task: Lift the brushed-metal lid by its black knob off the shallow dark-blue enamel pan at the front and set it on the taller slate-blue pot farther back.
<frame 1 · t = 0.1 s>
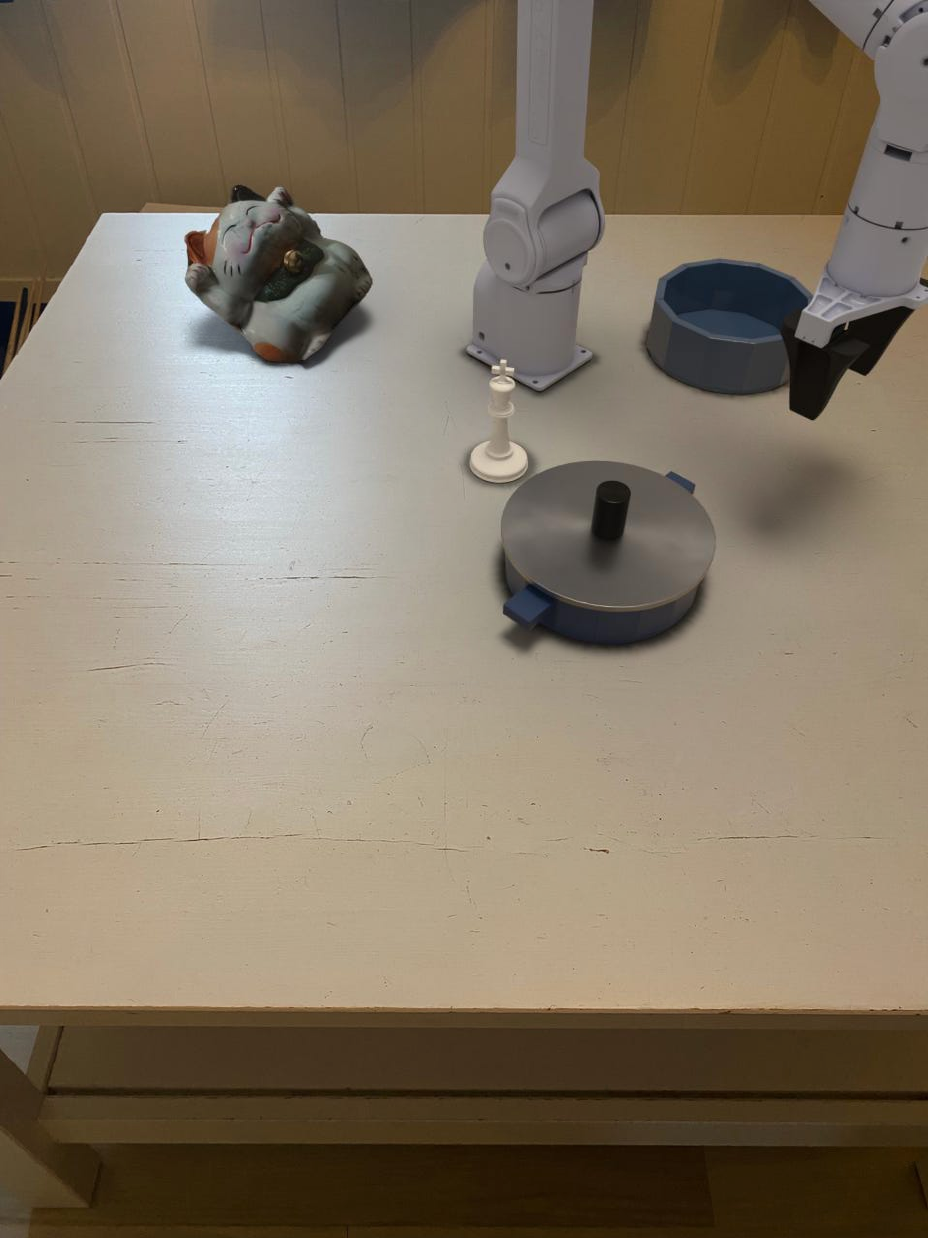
hand: (829, 390, 70), 10 cm above the table, tool pointing down, fingers open, 7 cm apart
pan: (600, 571, 71), on the table
chess piece: (498, 465, 80), on the table
lucky cat figurine: (288, 330, 93), on the table
lid: (606, 533, 68), point 4 cm above the table, touching pan
pot: (723, 349, 91), on the table
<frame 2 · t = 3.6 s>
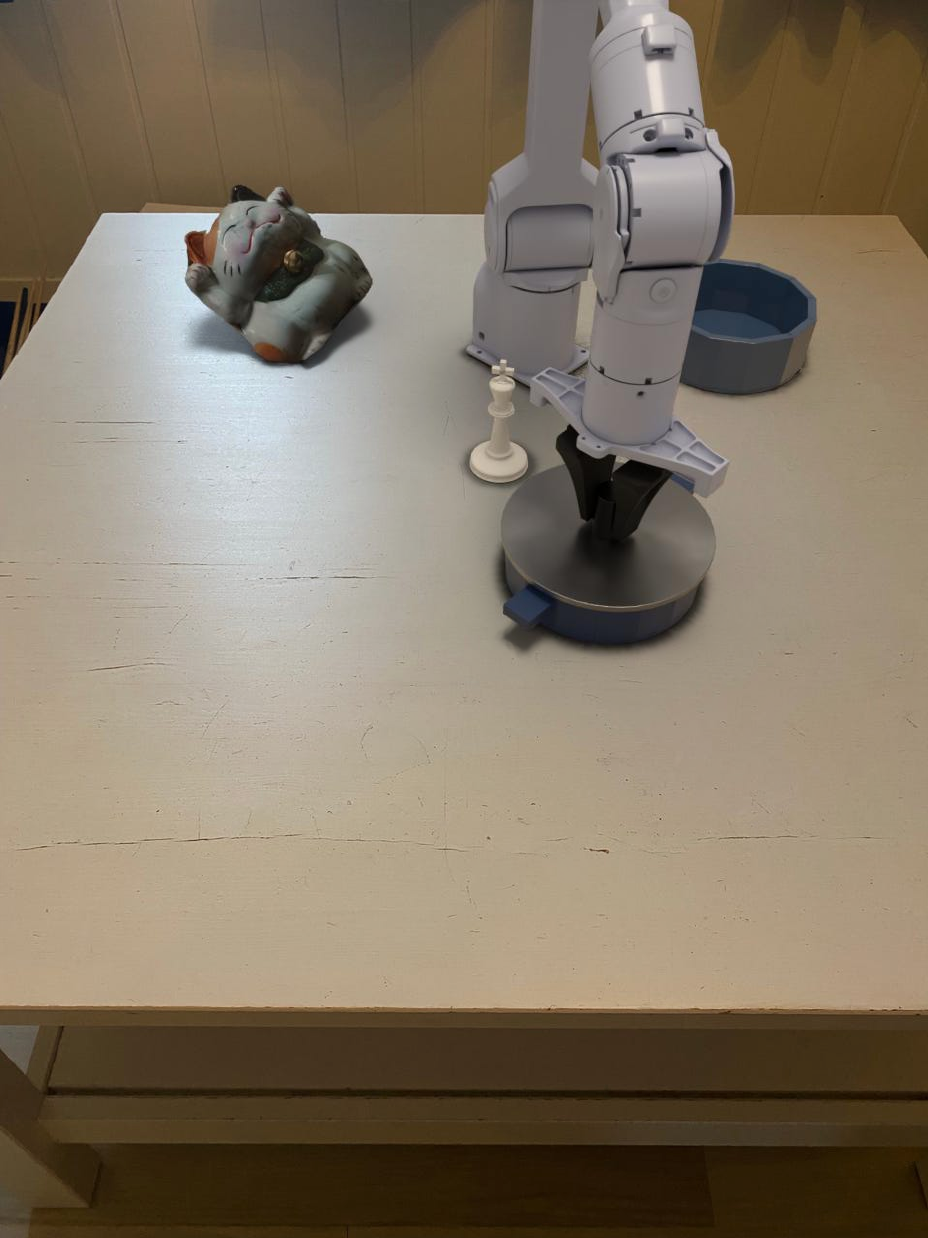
hand: (608, 522, 68), 5 cm above the table, tool pointing down, fingers closed on lid, 2 cm apart
lid: (606, 533, 68), point 4 cm above the table, touching gripper, pan
everything else where it was.
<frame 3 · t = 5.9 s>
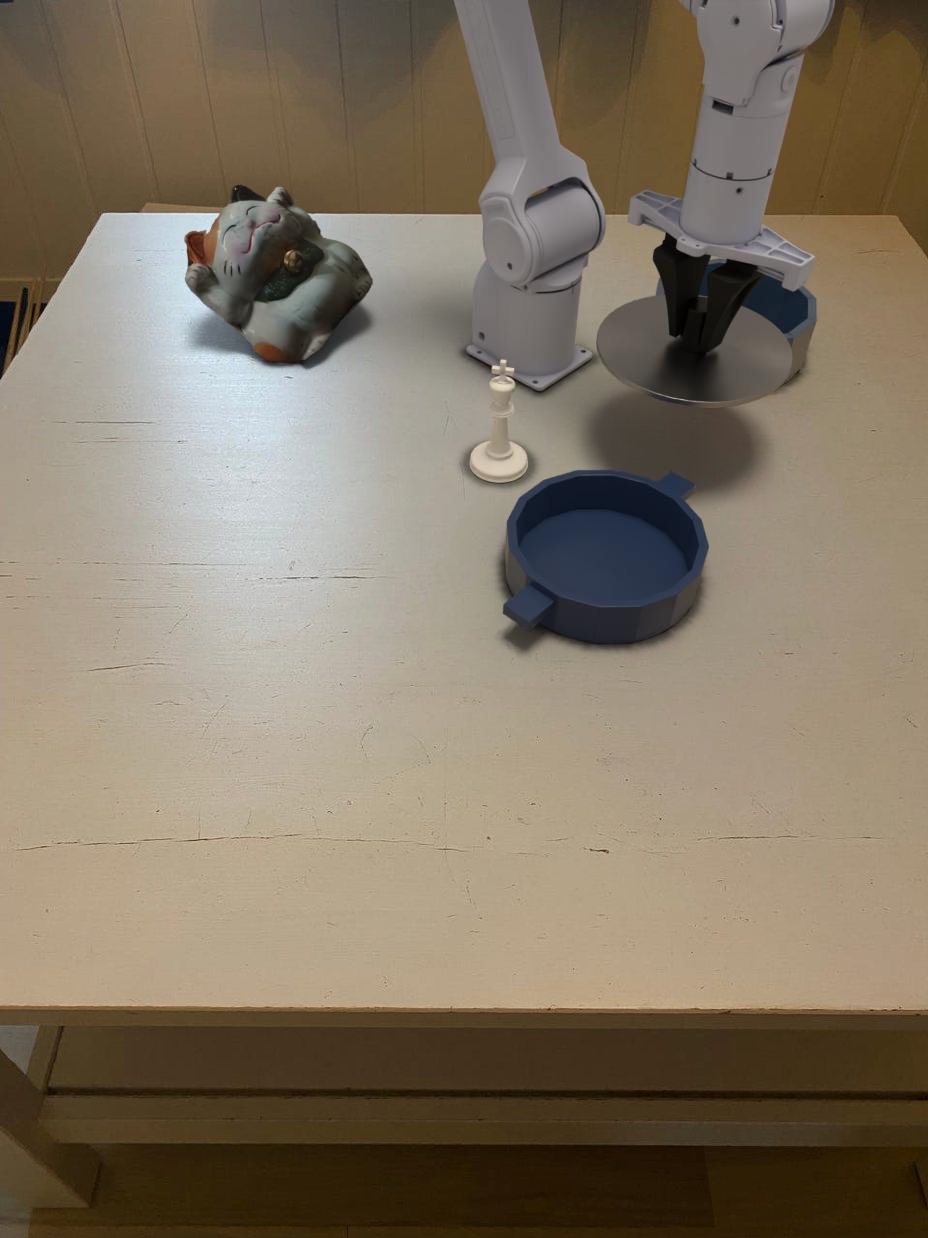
hand: (694, 338, 75), 10 cm above the table, tool pointing down, fingers closed on lid, 2 cm apart
lid: (692, 349, 75), point 9 cm above the table, touching gripper
everything else where it was.
when the fingers open (6 cm above the table, at t = 8.4 s): lid stays where it is, resting on pot.
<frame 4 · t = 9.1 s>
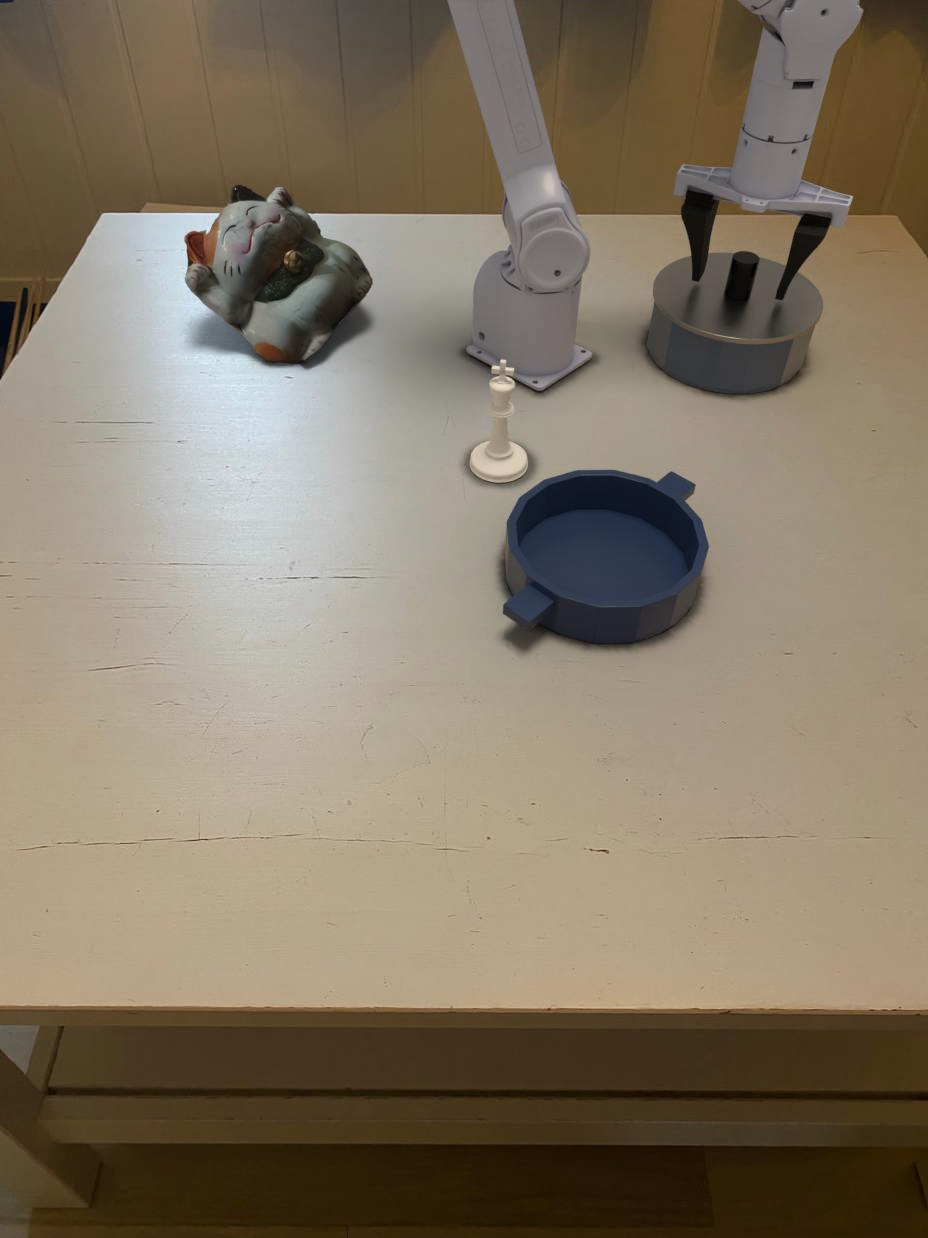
hand: (738, 285, 86), 7 cm above the table, tool pointing down, fingers open, 7 cm apart
lid: (736, 298, 87), point 5 cm above the table, touching pot
everything else where it was.
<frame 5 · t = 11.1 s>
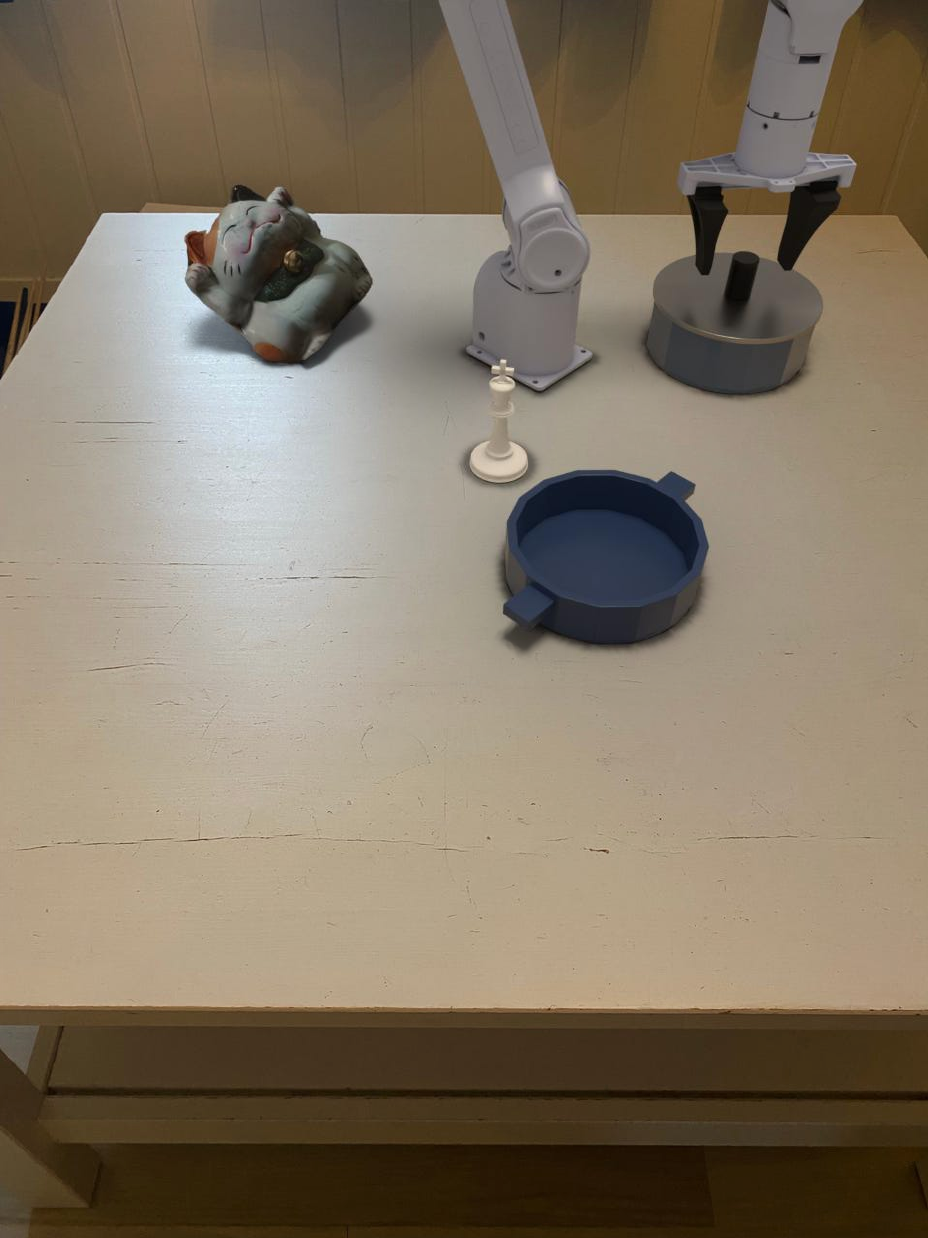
hand: (743, 267, 85), 8 cm above the table, tool pointing down, fingers open, 7 cm apart
nothing on the table moved.
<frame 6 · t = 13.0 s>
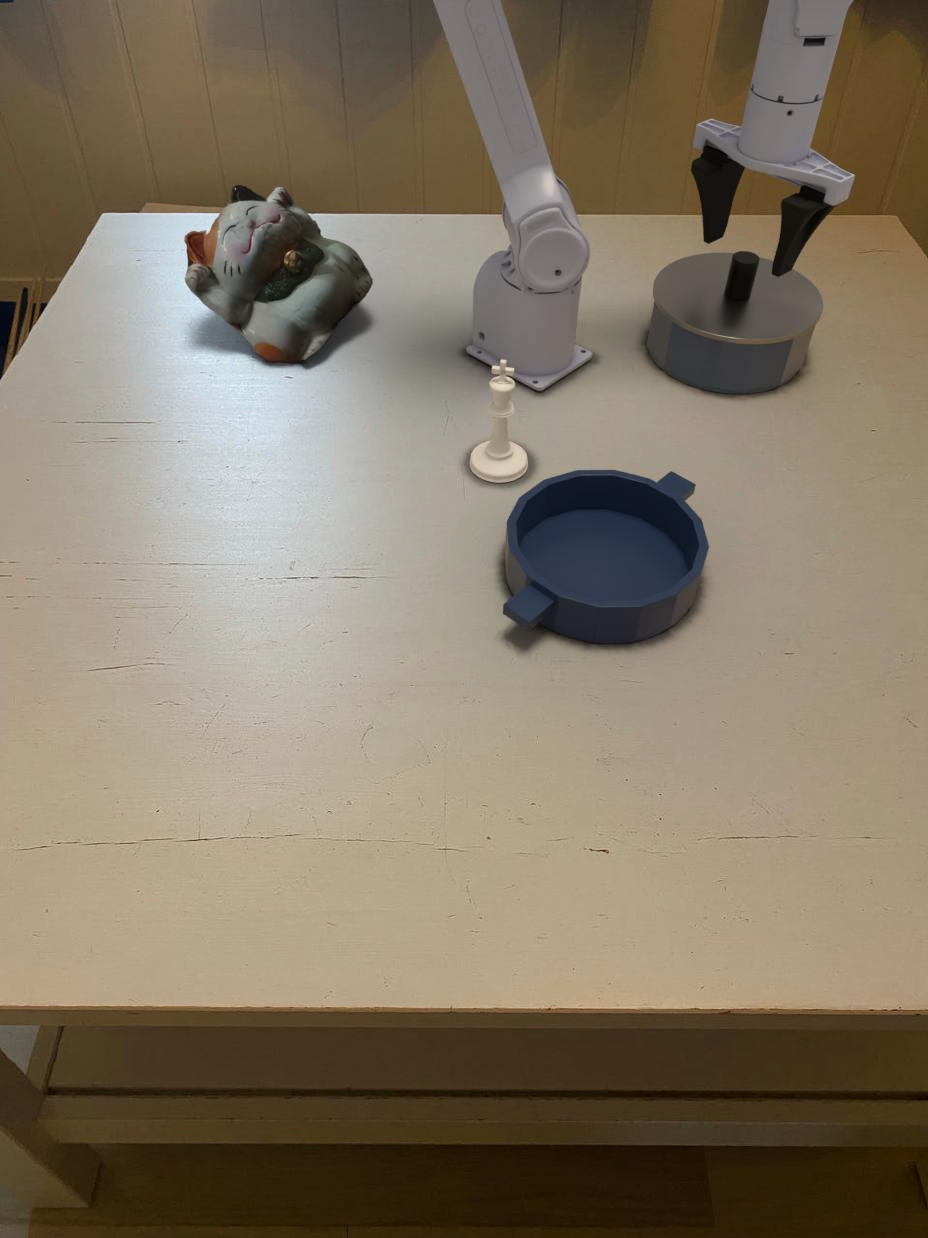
hand: (746, 255, 84), 10 cm above the table, tool pointing down, fingers open, 7 cm apart
nothing on the table moved.
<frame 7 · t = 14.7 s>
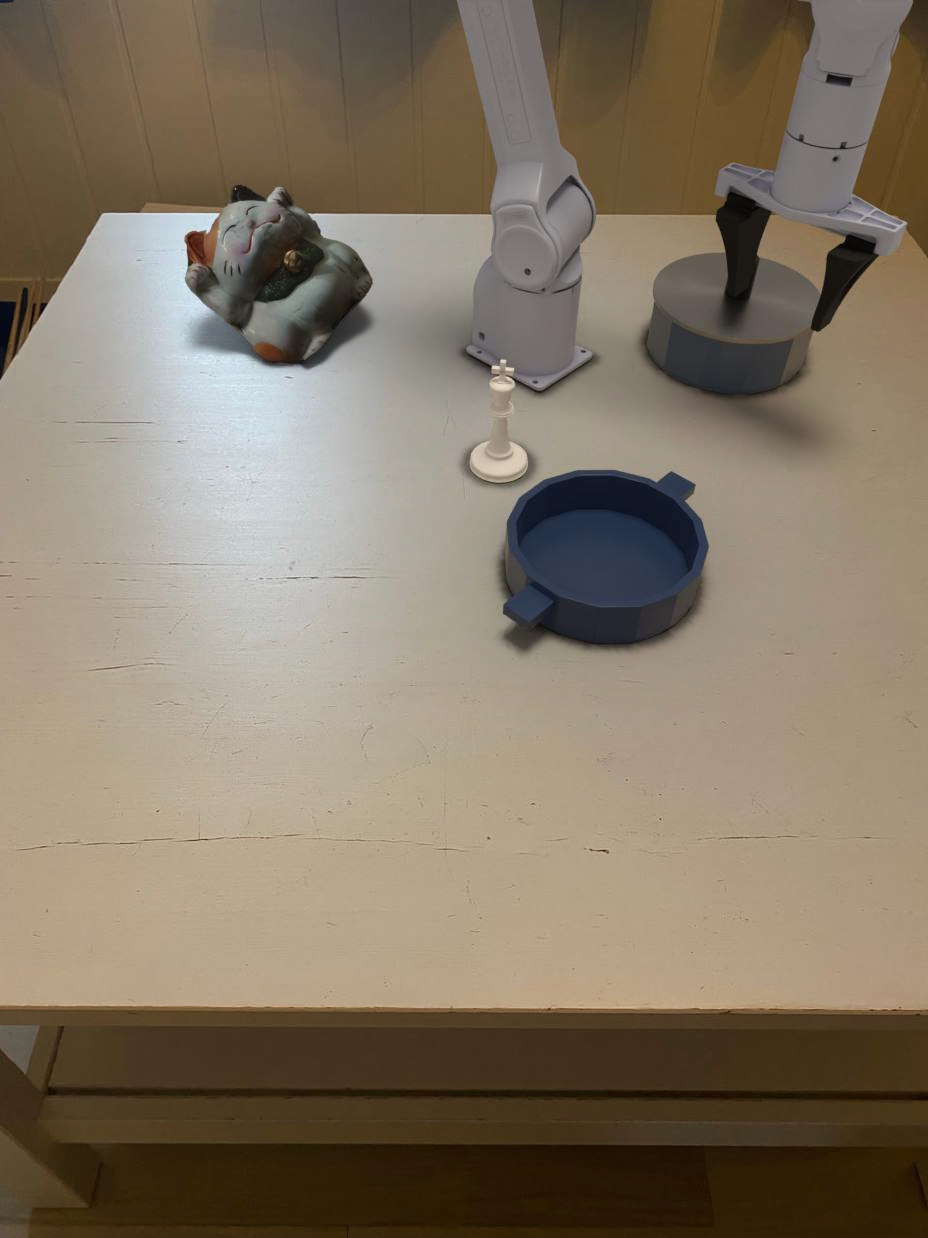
hand: (778, 308, 77), 10 cm above the table, tool pointing down, fingers open, 7 cm apart
nothing on the table moved.
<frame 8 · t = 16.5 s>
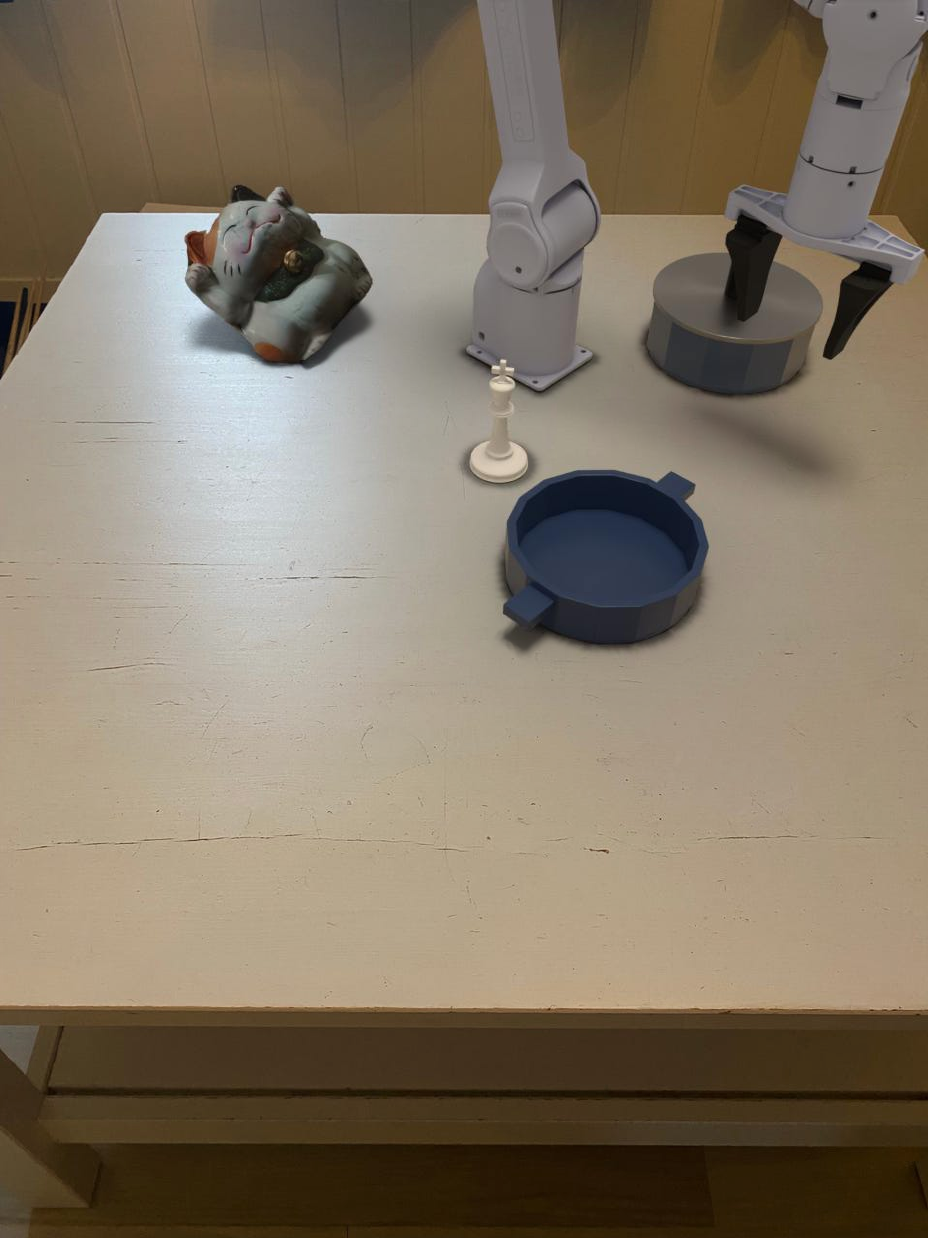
hand: (788, 334, 74), 10 cm above the table, tool pointing down, fingers open, 7 cm apart
nothing on the table moved.
at the end: lid 0.0 cm off-centre on the pot, point 5.4 cm above the pot's base; lid tilted 0°; the gripper is holding nothing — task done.
